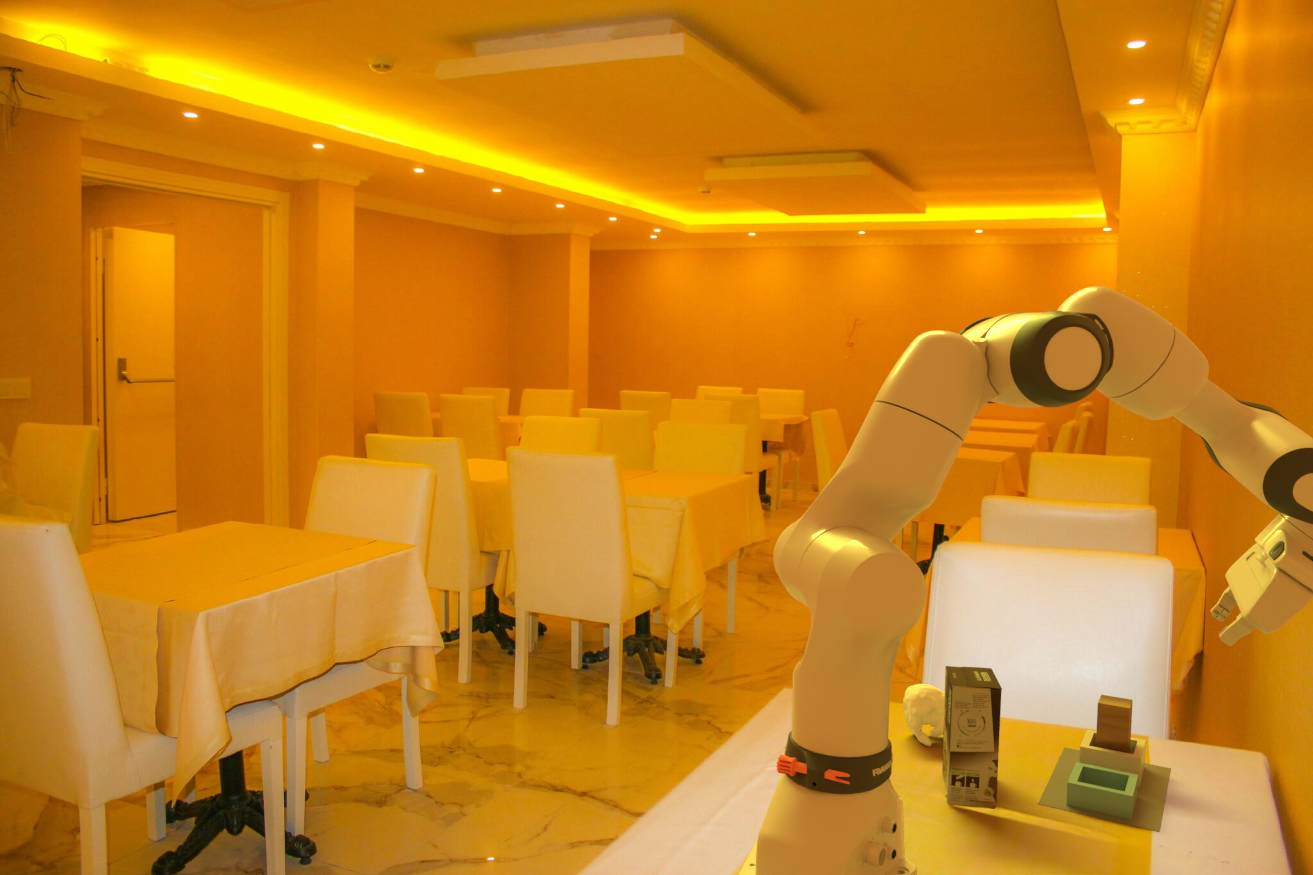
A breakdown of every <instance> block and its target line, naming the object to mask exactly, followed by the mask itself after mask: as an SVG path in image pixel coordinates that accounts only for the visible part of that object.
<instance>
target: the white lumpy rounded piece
mask: <svg viewBox="0 0 1313 875" xmlns="http://www.w3.org/2000/svg"><path fill="white" fill-rule="evenodd" d="M944 697H945V691H942V690H941V689H939V688H938V687H936V686H934V685H933V684H932V685H931V684H926V683H917V684H914V685H910V686H907V688H906V690H905V691H904V697H903V699H902V704H903V710H904V719H905V723H906V727H907V728H908V729H909V730H910V733H912V735H914V736H915V737H916V739H917V740H918V742H920V743H921V744H922V745H924V746H926V747H931V746H932V741H931V739H930V737H929V736H928V735H927V734H926V733H925V732H923V730H922V728H923V726H926V725H929V726H930V727H933V729H931V730H930V731H929V734H930V736H931V737H932V738H938V737H940V736H943V733H944Z"/></svg>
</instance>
